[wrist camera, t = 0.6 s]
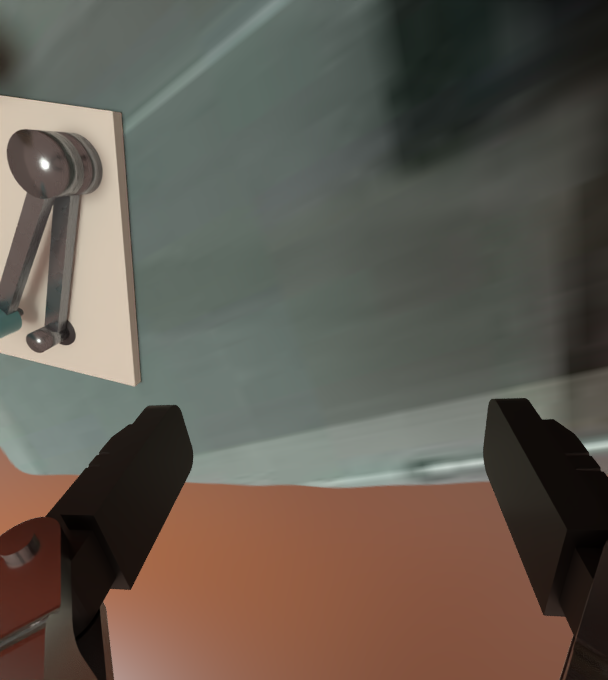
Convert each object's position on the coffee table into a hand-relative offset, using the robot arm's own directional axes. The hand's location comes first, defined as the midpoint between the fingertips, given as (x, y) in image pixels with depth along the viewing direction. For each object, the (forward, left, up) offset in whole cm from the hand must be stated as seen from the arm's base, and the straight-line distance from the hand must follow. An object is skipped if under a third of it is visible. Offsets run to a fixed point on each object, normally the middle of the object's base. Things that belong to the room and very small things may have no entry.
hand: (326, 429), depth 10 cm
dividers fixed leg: (+4, -26, -21) cm, 33 cm away
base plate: (+5, -30, -22) cm, 37 cm away
